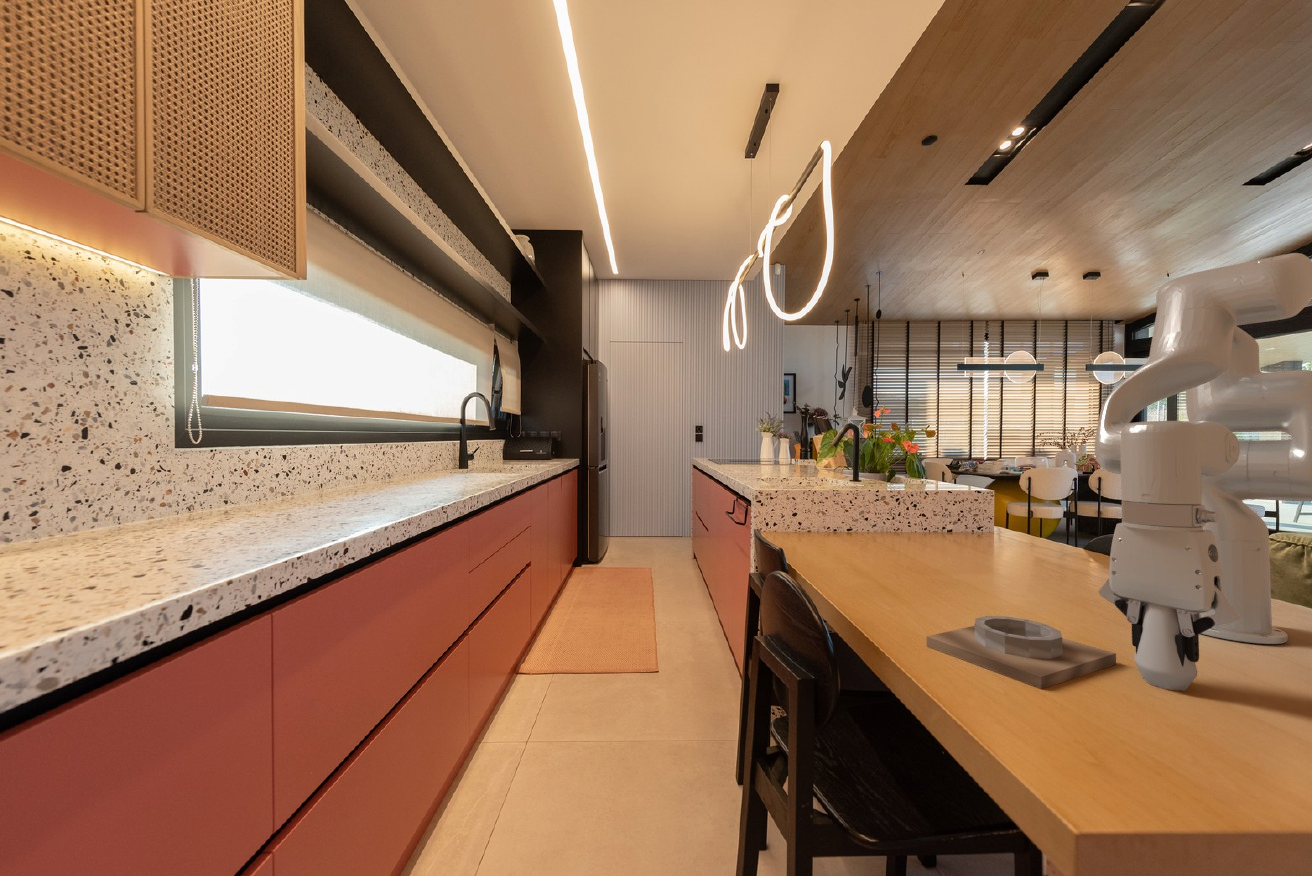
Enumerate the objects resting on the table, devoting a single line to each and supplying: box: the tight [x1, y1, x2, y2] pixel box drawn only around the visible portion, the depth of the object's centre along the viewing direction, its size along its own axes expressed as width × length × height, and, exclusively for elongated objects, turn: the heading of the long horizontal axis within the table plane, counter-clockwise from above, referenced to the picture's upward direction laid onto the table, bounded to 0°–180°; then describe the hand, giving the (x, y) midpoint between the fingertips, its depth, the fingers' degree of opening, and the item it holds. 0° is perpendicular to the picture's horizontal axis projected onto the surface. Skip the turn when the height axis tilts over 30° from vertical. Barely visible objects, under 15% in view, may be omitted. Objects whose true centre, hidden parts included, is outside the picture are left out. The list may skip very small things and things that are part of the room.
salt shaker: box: [1133, 603, 1198, 692], centre depth 67 cm, size 6×6×13 cm
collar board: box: [926, 615, 1117, 690], centre depth 76 cm, size 18×16×4 cm
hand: (1164, 658), depth 67 cm, fingers open, 3 cm apart
